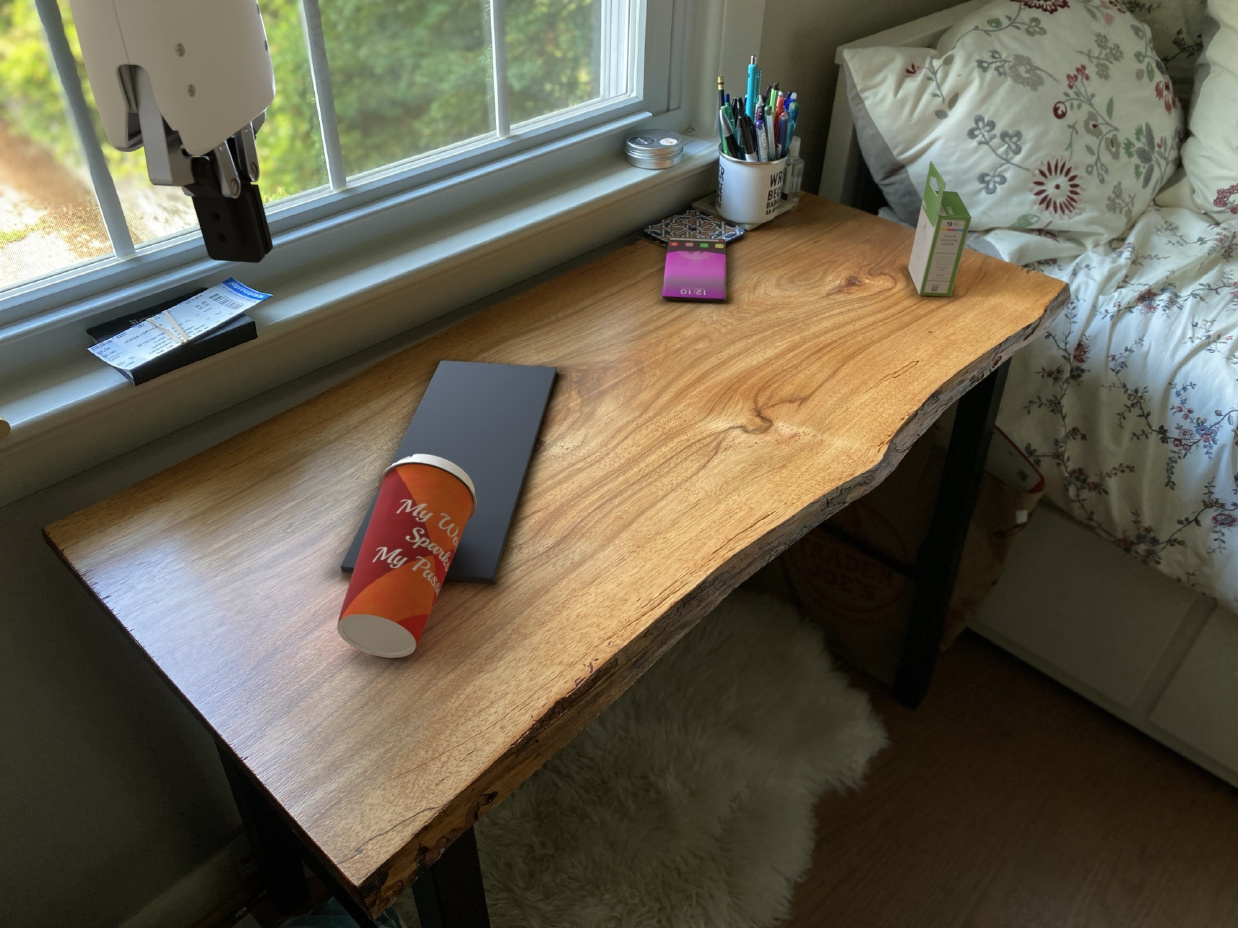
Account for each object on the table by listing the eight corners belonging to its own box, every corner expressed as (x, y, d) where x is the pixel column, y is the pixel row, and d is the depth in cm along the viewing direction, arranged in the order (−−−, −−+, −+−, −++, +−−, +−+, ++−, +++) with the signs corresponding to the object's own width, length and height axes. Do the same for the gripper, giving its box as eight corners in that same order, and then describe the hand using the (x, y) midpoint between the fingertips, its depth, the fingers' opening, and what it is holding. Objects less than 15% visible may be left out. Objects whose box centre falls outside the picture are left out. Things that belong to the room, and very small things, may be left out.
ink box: (953, 298, 106) (981, 184, 98) (917, 297, 107) (942, 183, 98) (940, 270, 112) (965, 160, 104) (906, 269, 112) (929, 159, 104)
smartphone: (725, 245, 117) (726, 238, 116) (725, 303, 105) (726, 296, 105) (668, 243, 118) (668, 236, 117) (661, 300, 106) (661, 293, 105)
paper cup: (375, 594, 59) (435, 436, 69) (297, 619, 63) (363, 466, 72) (456, 654, 64) (501, 499, 73) (378, 674, 68) (431, 524, 77)
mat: (493, 584, 71) (492, 578, 71) (341, 572, 72) (340, 566, 72) (556, 371, 95) (556, 366, 94) (441, 365, 96) (440, 360, 95)
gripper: (150, -137, 49) (238, 202, 60) (-47, -97, 37) (109, 314, 48) (288, -134, 48) (350, 208, 59) (132, -93, 36) (247, 323, 47)
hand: (242, 255), depth 54 cm, fingers closed
